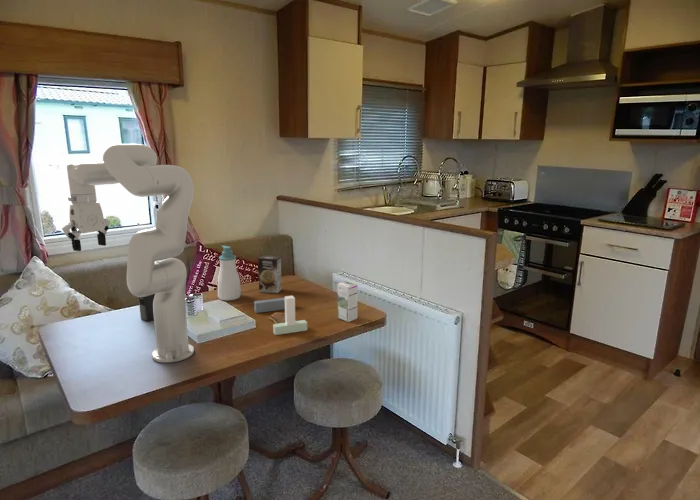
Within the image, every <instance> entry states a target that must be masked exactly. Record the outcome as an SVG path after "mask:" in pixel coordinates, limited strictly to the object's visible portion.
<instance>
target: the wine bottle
mask: <svg viewBox="0 0 700 500" xmlns="http://www.w3.org/2000/svg"><path fill="white" fill-rule="evenodd" d="M154 296H155V294H152V295H149V296H145V297H138V303H139V305H138V306H139V314H140V319H141V320H144V321H145V322H151V321H154V313H153V300H154Z"/></svg>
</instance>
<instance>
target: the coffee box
mask: <svg viewBox="0 0 700 500" xmlns="http://www.w3.org/2000/svg"><path fill="white" fill-rule="evenodd" d="M257 260H258V262H257V263H258V264H257V265H258V292H259V293H269V294H278V293H279V292H280V291H281V290H282V256H278V255H276V256H275V255H263V254H262V255H261V256H259V257H258V258H257Z"/></svg>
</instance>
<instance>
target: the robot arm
mask: <svg viewBox="0 0 700 500" xmlns="http://www.w3.org/2000/svg"><path fill="white" fill-rule="evenodd" d="M157 163H158V157H157V153H156V152H155V150H154V149H153V148H151V147H150V146H148V145H146V144H142V143H140V144H138V143H116V144H115V143H113V144H111V145H109V146H107V147H106V148H105V150H104V151H103V154H102V161H93V162H92V161H86V162H82V161H79V162H76V161H75V162H69V163H68V164H67V165H66V172H67V178H68V179H67V180H68V185H69V193H70V196H69V197H68V201H69V202H71V203H70V204H69V223H67V224H66V225H65V226H63V227H62V231H63V233H64V234H65V236H66V237H67V238H68V239H69V240H70V241H71V245H72V246H71V247H72V250H73V251H75V252H81V251H82V244H81V240H80V236H81V235H82V234H89V233H94V232H97V235H96V236H97V237H96V238H97V243H98V245H99V246H106V245H107V240H106V234H107V232H108V230H109V226H110V224H111V221H110V220H108V219H106V218H104V214H103V209H102V206H101V203H100V202H99V201H98V199H97V194H96V186H100V185H114V184H120V185H121V186H122V187H123V188H124V189H125V190H127V191H128V192H129V193H130V194H132V195H133V196H135V197H140V198H143V197H144V198H146V197H152V196H153V197H155V196H162V195H166V197H165V198H164V200H163V201H162V202H161V204H160V206H159V208H158V210H157V213H156V214H157V215H156V222H155V226H154V227H153V228H149V229H147V228H146V229H143V230H139V231H137V232H135V233H134V234H133V235H132V237H131V238H130V240H129V243H128V249H127V262H126V264H127V265H126V286H127V288H128V290H129V293H130V294H132V295H133V296H134V297H138V298H139V297H145V296H149V295H152V294H155V296H154V300H153V313H154V320H153V321H154V322H153V323H154V331H155V344H156V348H155V349H154V350H153V351H152V352H151V358H152V360H154V361H155V362H158V363H165V364H167V363H169V364H171V363H176V362H177V363H178V362H181V361H183V360H186V359H188V358H190V357H192V355H193V354H194V352H195V347H194V345H192V344H190V343H189V334H188V333H189V332H188V331H189V330H188V321H187V308H186V306H187V305H186V284H187V275H188V274H187V267H186V265H185V263H184V262H183V261H182V260H181V259H179V258H176V257H178V256H179V255H182V254H183V252H184V250H185V245H186V241H187V240H186V238H187V232H188V231H187V230H188V221H189V214H190V209H191V206H192V203H193V199H194V193H195V192H194V189H195V188H194V183H193V180H192V177H191V175H190V173H189V172H188V170H187V169H185V168H184V167H181V166H178V165H173V164H157Z"/></svg>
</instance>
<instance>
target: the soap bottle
mask: <svg viewBox="0 0 700 500" xmlns="http://www.w3.org/2000/svg"><path fill="white" fill-rule="evenodd" d="M221 247H222V248H223V251H222V250H221V255H220V256H218V259H219V272H218V277H217V298H218V299H219V300H222V301H235V300H237V299H240V298H241V295H242V293H241V292H242V291H241V288H242V287H241V281H240V276H239V273H238V268H237V265H236V259H237V256H236V255H234V254H233V253H234V252H233V250H232V249H231V246H229V245H228V246H226V245H221Z"/></svg>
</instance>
